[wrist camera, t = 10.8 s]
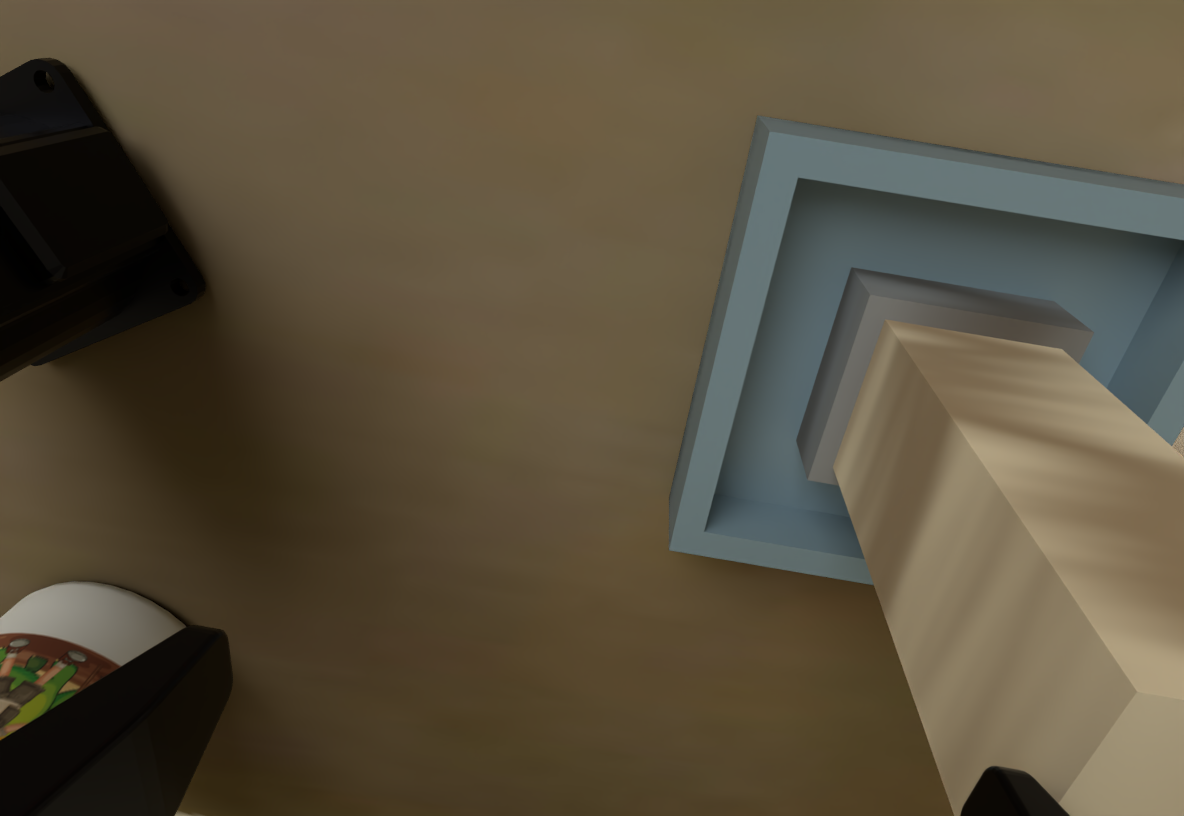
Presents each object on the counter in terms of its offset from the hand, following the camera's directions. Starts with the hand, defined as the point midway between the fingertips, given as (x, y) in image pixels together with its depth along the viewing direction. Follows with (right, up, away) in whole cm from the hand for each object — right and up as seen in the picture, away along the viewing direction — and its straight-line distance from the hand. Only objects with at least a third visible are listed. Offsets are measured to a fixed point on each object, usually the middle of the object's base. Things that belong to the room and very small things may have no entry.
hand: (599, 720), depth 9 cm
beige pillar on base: (+8, +5, +11) cm, 14 cm away
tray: (+8, +5, +11) cm, 15 cm away
